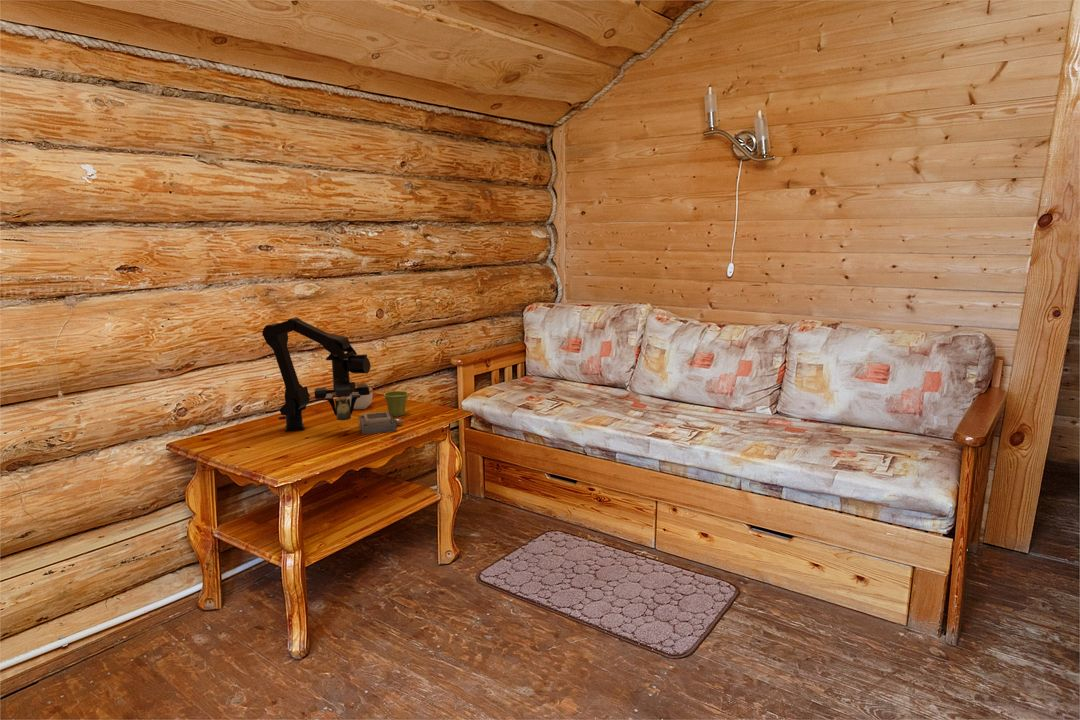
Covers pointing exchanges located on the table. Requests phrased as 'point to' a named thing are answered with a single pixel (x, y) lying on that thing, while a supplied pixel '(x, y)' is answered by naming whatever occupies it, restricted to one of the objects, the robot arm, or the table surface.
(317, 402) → the table surface
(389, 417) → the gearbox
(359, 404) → the lidded jar
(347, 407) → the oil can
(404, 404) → the plant pot
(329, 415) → the table surface
